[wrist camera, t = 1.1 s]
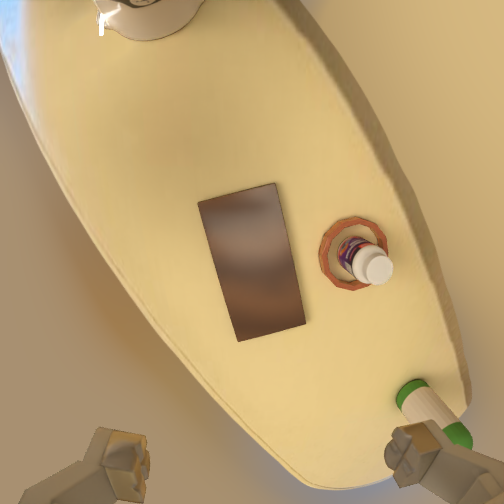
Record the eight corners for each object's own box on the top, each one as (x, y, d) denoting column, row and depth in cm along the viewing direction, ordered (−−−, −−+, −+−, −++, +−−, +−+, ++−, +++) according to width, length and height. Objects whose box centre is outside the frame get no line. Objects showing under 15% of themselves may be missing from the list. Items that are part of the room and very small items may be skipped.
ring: (313, 227, 46) (316, 229, 45) (377, 210, 47) (382, 212, 45) (325, 294, 49) (329, 298, 47) (386, 275, 49) (391, 278, 48)
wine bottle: (410, 408, 58) (477, 501, 29) (387, 403, 56) (456, 507, 27) (431, 381, 56) (509, 469, 27) (409, 374, 55) (492, 473, 26)
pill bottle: (356, 228, 47) (386, 241, 38) (373, 255, 48) (404, 273, 39) (329, 250, 47) (354, 268, 38) (347, 276, 49) (373, 298, 39)
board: (197, 202, 44) (197, 203, 43) (274, 182, 44) (275, 182, 43) (237, 339, 50) (237, 342, 49) (304, 321, 50) (306, 324, 49)
